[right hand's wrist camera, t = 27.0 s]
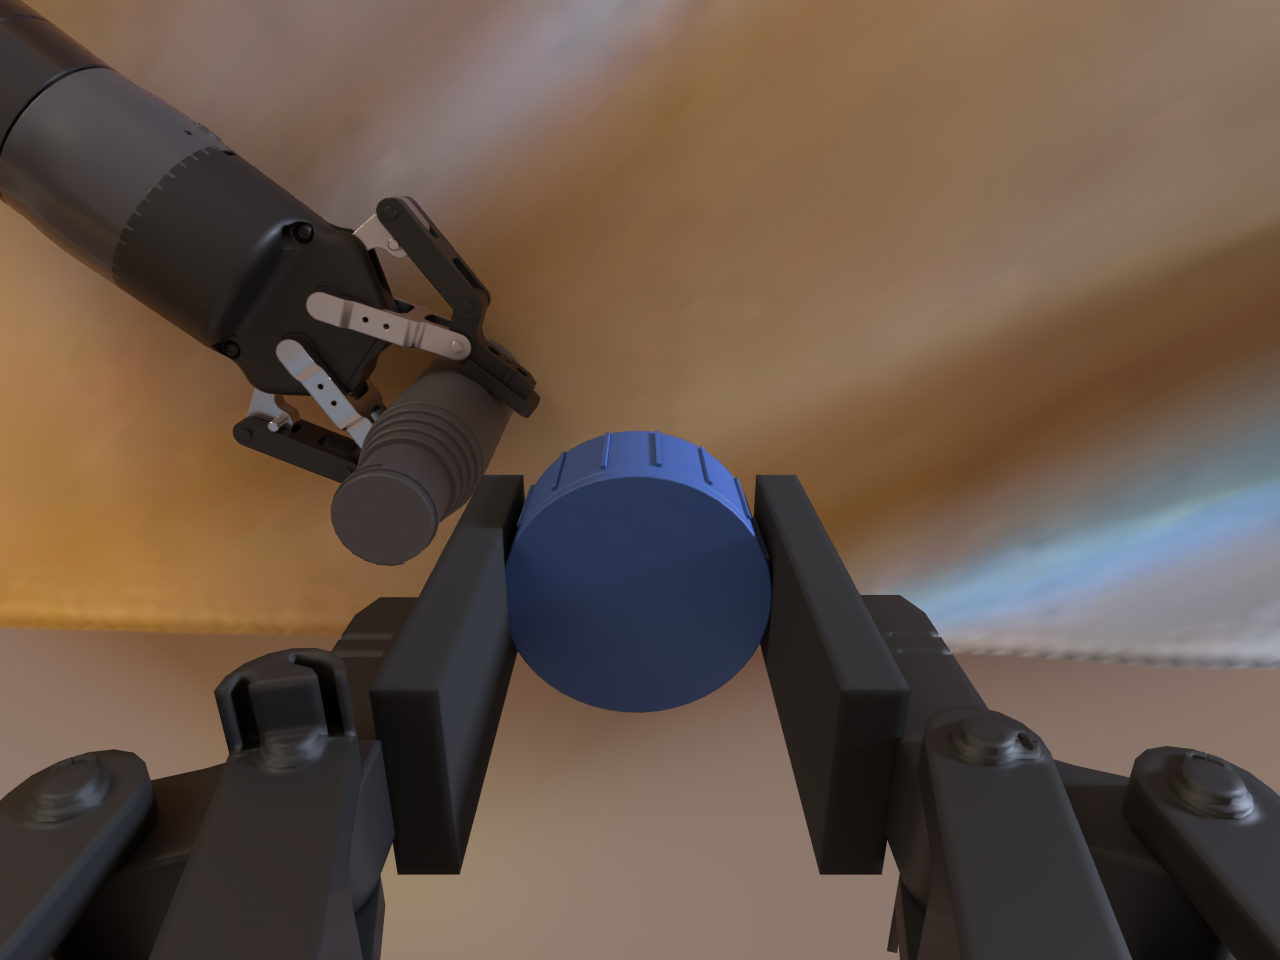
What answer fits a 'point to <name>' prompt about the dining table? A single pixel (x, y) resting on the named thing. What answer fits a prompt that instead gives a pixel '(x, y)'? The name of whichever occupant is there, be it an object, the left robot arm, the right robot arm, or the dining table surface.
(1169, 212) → the dining table surface
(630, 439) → the cap
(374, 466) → the bottle
